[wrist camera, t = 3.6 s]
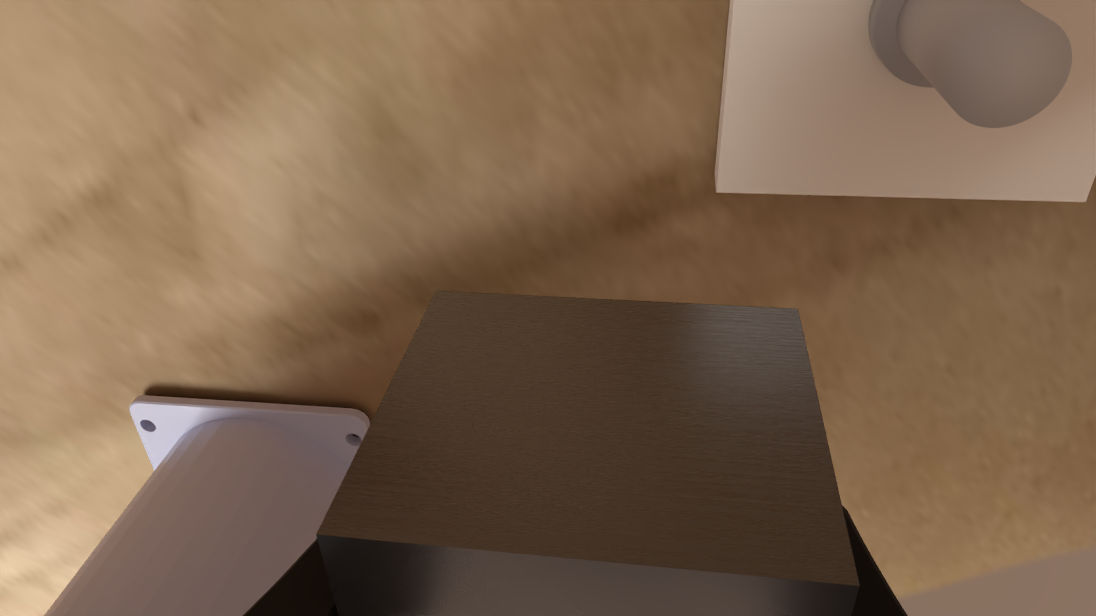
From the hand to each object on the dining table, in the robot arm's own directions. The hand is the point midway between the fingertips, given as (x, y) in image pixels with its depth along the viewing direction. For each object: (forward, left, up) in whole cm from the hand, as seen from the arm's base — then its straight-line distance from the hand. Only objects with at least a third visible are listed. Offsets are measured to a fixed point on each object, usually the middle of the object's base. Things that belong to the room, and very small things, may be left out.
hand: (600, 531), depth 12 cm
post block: (+6, -6, -10) cm, 13 cm away
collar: (0, 0, -2) cm, 2 cm away
